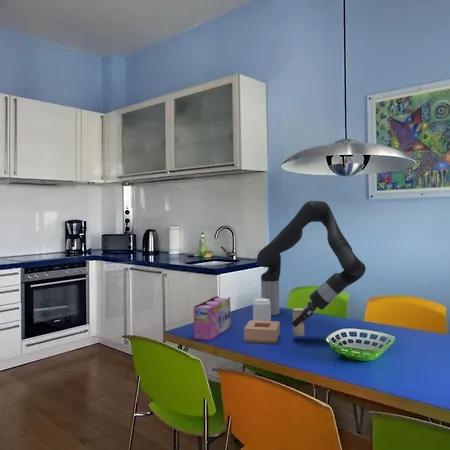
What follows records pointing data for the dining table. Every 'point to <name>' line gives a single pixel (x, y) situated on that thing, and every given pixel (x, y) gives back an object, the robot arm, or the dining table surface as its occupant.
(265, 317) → the beverage can
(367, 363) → the dining table surface
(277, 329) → the well
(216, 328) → the gum box
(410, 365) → the dining table surface
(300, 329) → the post
